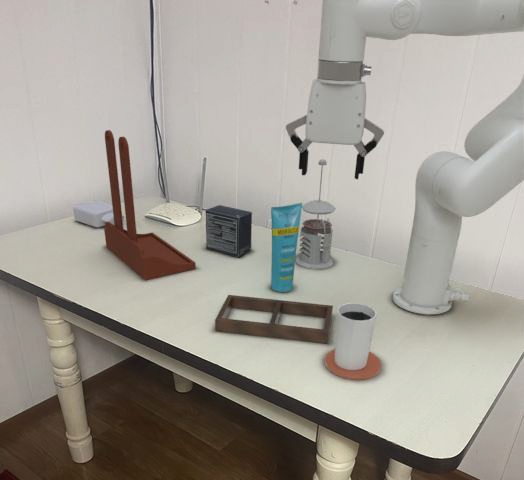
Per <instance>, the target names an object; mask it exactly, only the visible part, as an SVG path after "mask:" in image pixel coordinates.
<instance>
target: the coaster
mask: <svg viewBox="0 0 524 480" xmlns="http://www.w3.org/2000/svg"><path fill="white" fill-rule="evenodd" d="M334 358H335V348H334V349H332V350H330V351H328V353H327V354H326V355H325V358H324V365H325V367H326V369H328V371H329V372H330V373H332V374H334V375H336V376H337V377H340V378H343V379H348V380H354V381H355V380H356V381H361V380H362V381H363V380H367V379H371V378H374V377H375V376H377V375H378V374H379V373H380V372H381V369H382V362H381V360H380V358H379V357H378V356H377V355H376V354H374V353H372V352H371V351H369V354H368V359H367V364H366V366H365V367H364V368H362V369H359V370H347V369H344V368H341V367H339V366H338V365H337V364H336V363H335V359H334Z"/></svg>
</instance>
